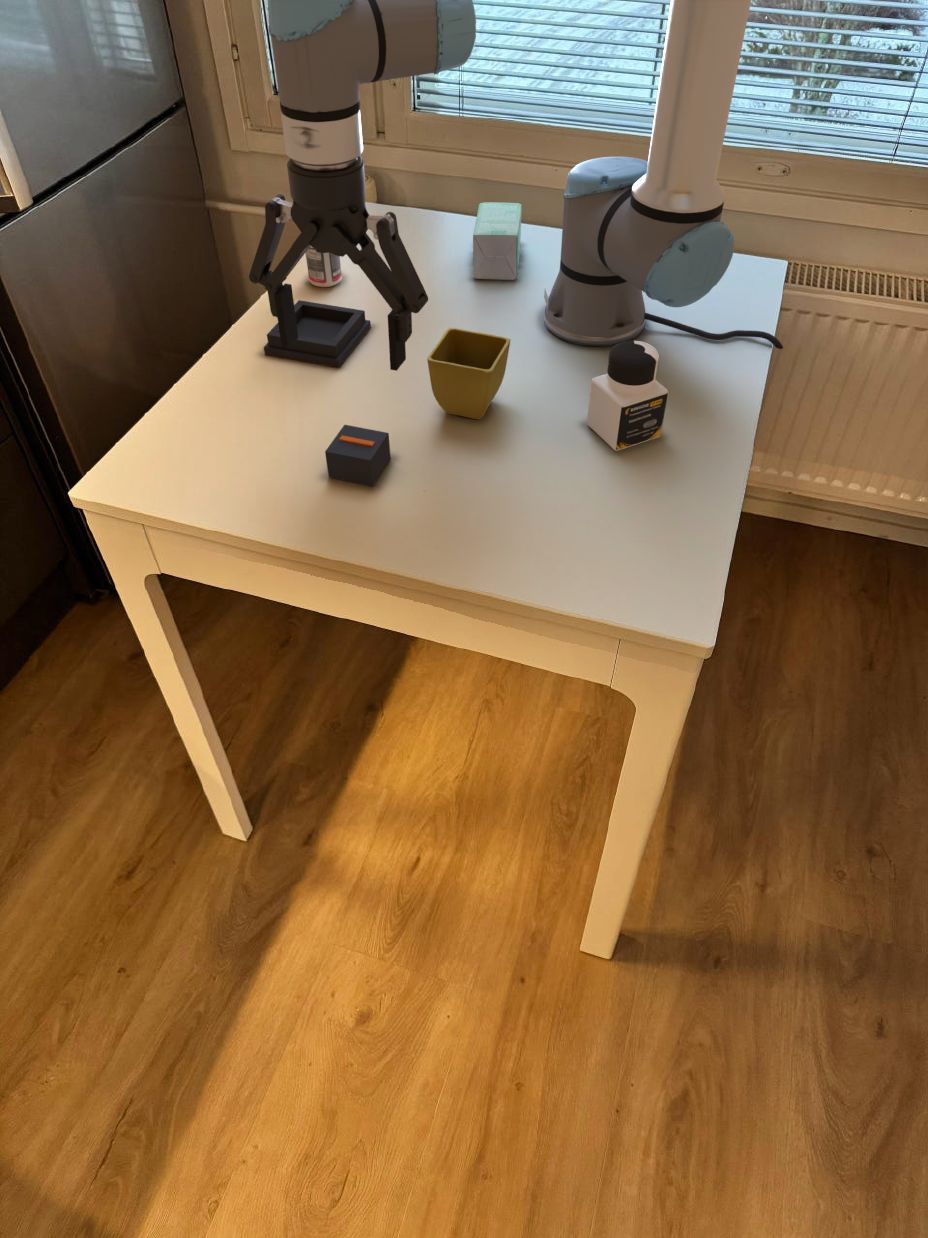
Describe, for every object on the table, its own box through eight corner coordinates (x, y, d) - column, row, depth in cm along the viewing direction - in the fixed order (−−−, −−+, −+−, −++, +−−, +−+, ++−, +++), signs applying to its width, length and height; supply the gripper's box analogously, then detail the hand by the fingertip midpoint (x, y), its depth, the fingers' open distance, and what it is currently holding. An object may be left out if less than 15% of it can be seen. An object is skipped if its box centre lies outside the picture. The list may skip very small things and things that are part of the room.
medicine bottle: (615, 452, 117) (627, 370, 108) (585, 424, 121) (594, 342, 113) (661, 437, 119) (676, 355, 110) (630, 410, 124) (642, 328, 115)
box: (520, 243, 159) (522, 200, 153) (517, 280, 149) (518, 235, 144) (478, 243, 159) (478, 199, 154) (472, 279, 150) (472, 234, 144)
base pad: (371, 327, 139) (369, 309, 137) (339, 367, 131) (337, 348, 129) (299, 315, 142) (297, 297, 140) (264, 354, 134) (261, 335, 132)
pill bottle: (334, 269, 152) (328, 210, 145) (347, 283, 149) (340, 223, 142) (304, 277, 151) (296, 217, 144) (316, 290, 147) (308, 230, 140)
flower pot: (509, 396, 126) (511, 337, 120) (490, 431, 120) (491, 371, 114) (449, 385, 128) (448, 326, 122) (427, 419, 122) (425, 359, 116)
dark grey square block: (390, 458, 116) (388, 430, 113) (373, 486, 113) (370, 458, 109) (347, 450, 118) (344, 422, 115) (328, 477, 114) (324, 449, 111)
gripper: (193, 152, 90) (230, 348, 105) (429, 188, 84) (433, 390, 99) (231, 128, 95) (262, 319, 110) (457, 160, 89) (456, 357, 104)
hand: (343, 353), depth 105 cm, fingers open, 13 cm apart
